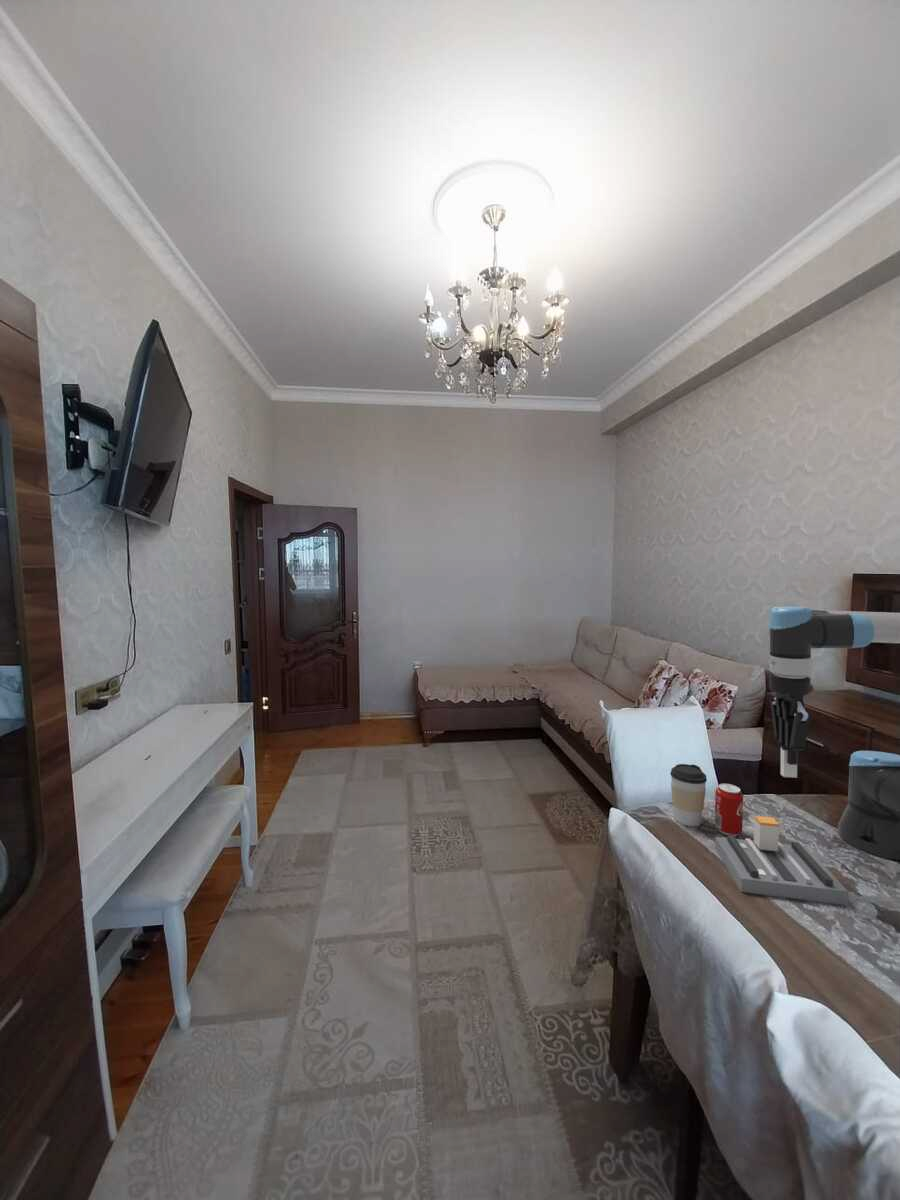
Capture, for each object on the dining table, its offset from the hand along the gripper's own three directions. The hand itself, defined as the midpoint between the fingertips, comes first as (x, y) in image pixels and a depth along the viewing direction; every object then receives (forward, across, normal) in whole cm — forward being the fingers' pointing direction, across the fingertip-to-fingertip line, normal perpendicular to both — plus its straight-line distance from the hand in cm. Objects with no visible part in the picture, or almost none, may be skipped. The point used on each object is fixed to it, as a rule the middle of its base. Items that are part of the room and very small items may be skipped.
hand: (788, 775), depth 106 cm
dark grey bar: (+23, +3, +3) cm, 23 cm away
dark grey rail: (+22, +2, -11) cm, 25 cm away
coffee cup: (+22, -19, -16) cm, 33 cm away
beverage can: (+23, -15, -7) cm, 28 cm away
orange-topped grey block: (+19, -3, -3) cm, 19 cm away
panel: (+22, +2, -4) cm, 23 cm away
